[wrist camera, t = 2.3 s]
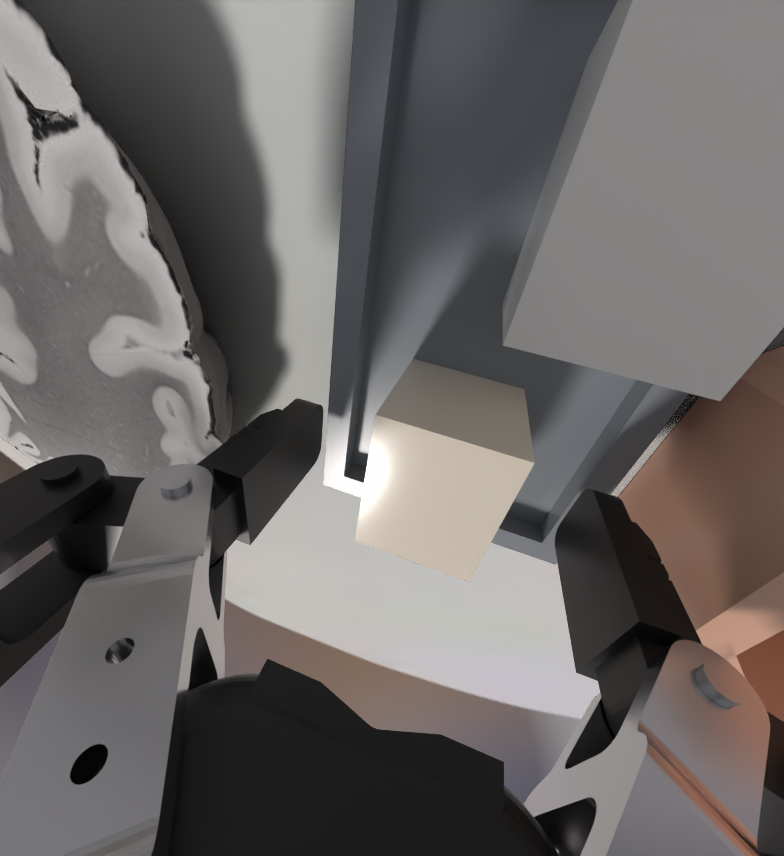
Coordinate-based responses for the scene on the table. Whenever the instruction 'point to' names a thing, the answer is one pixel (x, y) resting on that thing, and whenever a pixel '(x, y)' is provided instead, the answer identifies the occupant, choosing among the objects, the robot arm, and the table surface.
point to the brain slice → (92, 286)
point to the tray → (467, 239)
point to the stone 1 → (444, 467)
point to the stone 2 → (664, 202)
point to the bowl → (726, 522)
